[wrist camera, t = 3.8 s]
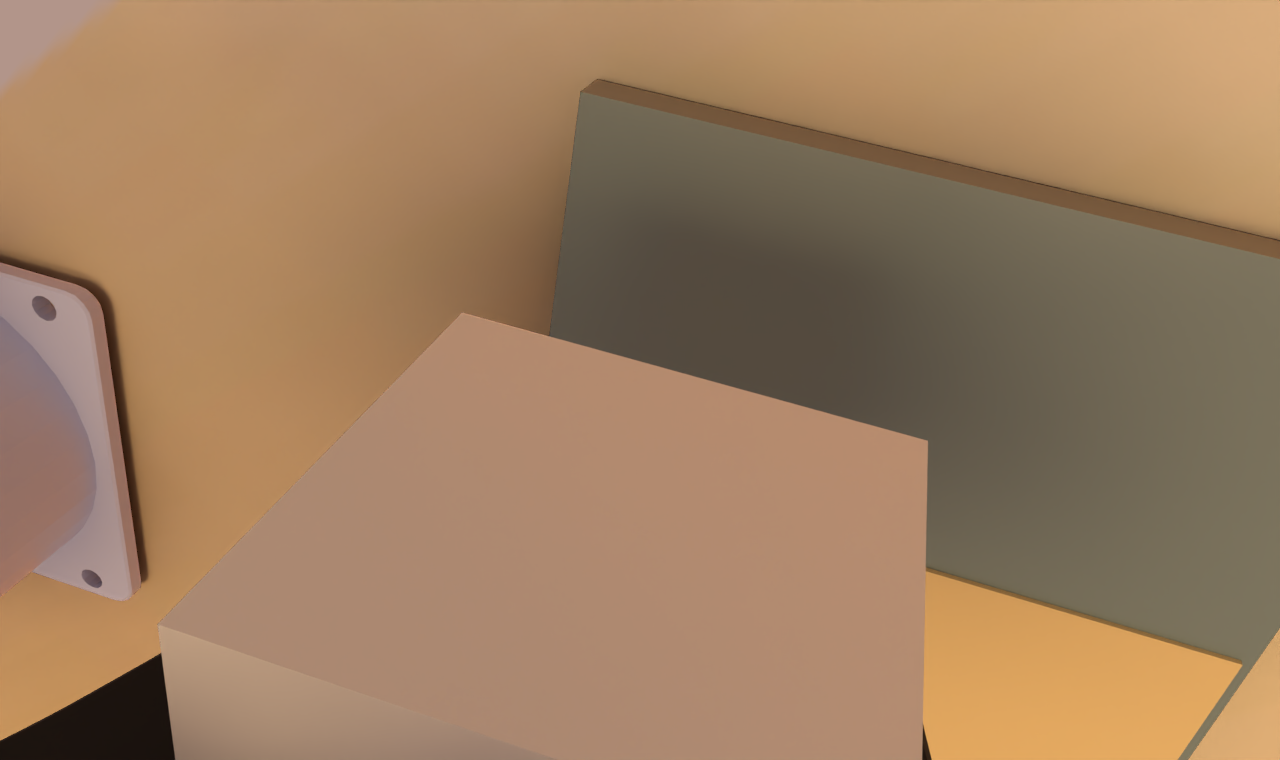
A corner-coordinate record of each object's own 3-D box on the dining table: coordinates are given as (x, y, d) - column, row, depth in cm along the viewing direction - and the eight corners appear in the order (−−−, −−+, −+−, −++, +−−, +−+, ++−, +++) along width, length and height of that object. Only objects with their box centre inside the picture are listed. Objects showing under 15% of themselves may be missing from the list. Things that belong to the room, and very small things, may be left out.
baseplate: (489, 870, 25) (475, 902, 24) (597, 78, 15) (578, 93, 14) (964, 1041, 23) (965, 1083, 23) (1470, 286, 13) (1503, 314, 12)
